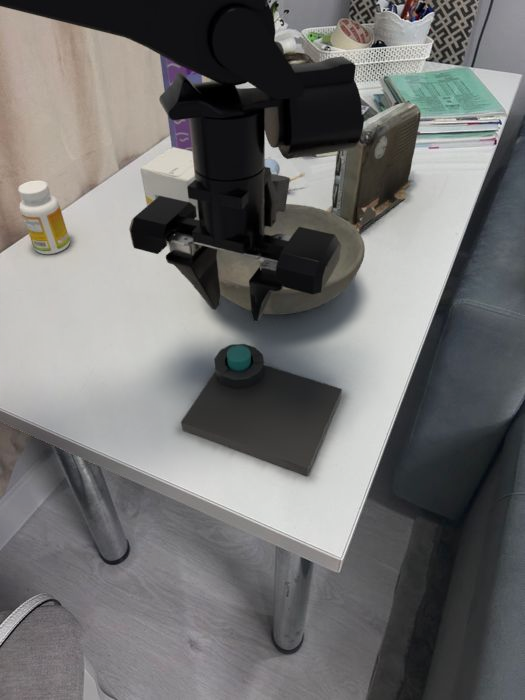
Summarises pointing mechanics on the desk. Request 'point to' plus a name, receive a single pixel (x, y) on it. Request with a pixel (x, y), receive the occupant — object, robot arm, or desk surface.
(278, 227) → the bowl
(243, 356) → the button
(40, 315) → the desk surface
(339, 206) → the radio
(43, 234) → the supplement bottle
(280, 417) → the scale
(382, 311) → the desk surface
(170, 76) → the cereal box
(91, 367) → the desk surface
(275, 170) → the fairy figurine
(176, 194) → the ink box
